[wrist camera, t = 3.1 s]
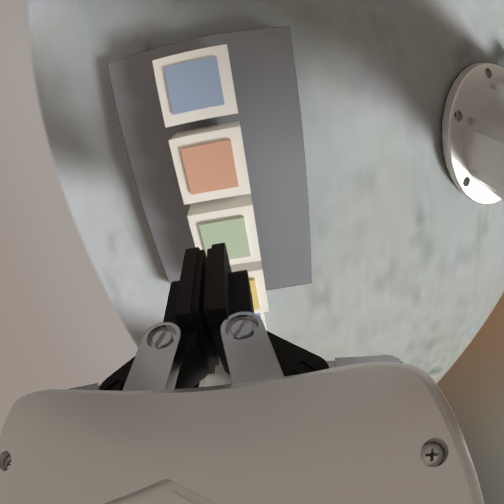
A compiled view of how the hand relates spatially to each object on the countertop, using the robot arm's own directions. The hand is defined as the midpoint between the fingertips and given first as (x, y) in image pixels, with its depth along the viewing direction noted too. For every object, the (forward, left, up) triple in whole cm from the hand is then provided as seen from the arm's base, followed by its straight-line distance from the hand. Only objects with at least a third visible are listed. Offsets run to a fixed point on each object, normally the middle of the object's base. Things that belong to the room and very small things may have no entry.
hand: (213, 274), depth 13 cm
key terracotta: (-3, -2, -6) cm, 7 cm away
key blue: (-6, -5, -6) cm, 10 cm away
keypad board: (-2, -1, -8) cm, 8 cm away
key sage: (0, 0, -6) cm, 6 cm away
